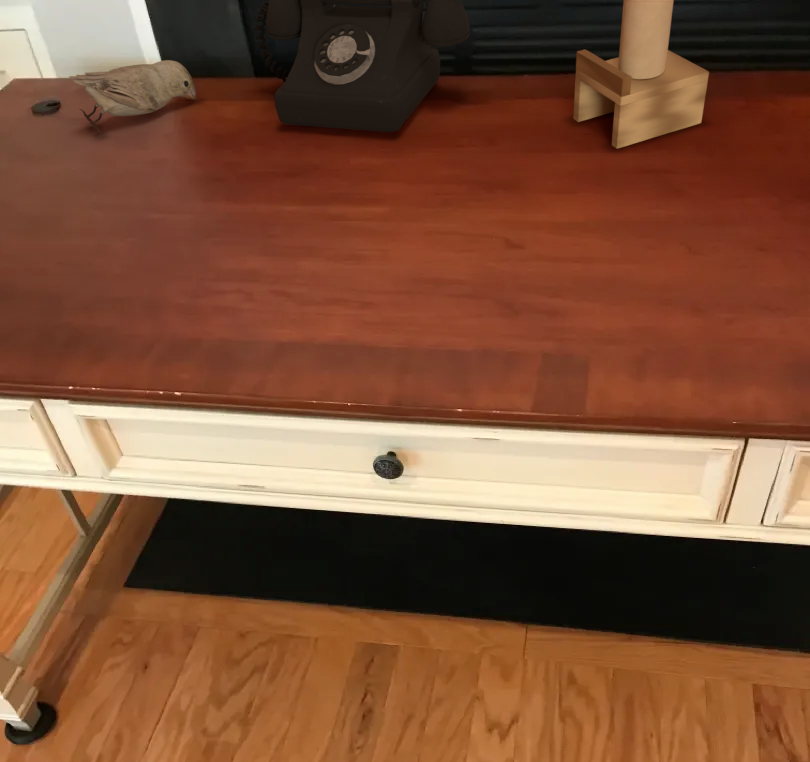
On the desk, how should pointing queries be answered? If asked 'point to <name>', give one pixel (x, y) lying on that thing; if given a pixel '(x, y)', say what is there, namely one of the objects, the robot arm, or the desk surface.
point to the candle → (645, 37)
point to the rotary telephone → (359, 58)
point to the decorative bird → (136, 88)
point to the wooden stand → (639, 97)
